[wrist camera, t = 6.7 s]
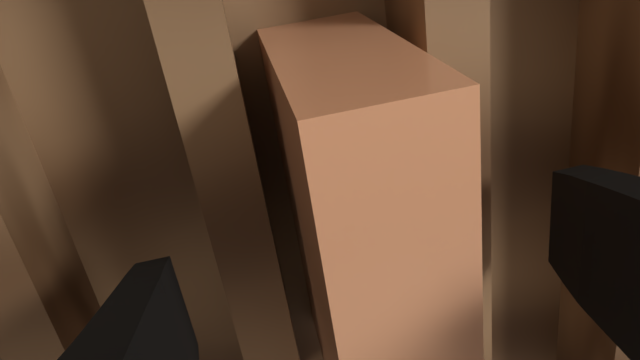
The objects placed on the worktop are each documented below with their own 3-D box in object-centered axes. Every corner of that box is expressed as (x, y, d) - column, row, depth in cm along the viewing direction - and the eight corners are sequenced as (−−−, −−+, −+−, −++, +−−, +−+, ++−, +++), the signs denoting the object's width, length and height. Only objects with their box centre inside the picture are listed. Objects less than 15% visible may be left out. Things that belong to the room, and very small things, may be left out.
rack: (570, 394, 20) (634, 476, 17) (153, 505, 18) (141, 617, 15) (643, -469, 10) (827, -633, 7) (-247, -380, 8) (-491, -541, 5)
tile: (389, 302, 15) (485, 505, 10) (313, 321, 15) (369, 538, 10) (357, 11, 12) (479, 84, 6) (256, 29, 12) (297, 121, 6)
